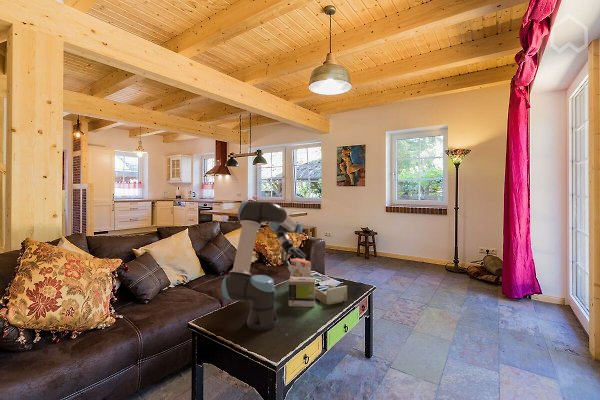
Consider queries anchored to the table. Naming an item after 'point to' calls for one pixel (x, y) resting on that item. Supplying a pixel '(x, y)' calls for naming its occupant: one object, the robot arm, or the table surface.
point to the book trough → (332, 294)
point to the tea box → (302, 291)
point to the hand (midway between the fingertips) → (299, 268)
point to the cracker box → (300, 268)
